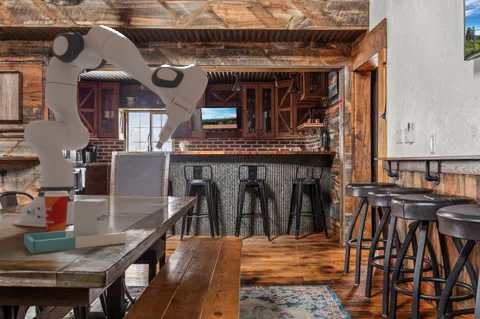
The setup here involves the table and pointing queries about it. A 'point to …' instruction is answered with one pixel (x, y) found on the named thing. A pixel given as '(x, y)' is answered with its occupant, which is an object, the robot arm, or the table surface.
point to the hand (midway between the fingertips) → (159, 145)
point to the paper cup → (56, 210)
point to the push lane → (69, 240)
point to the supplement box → (90, 217)
